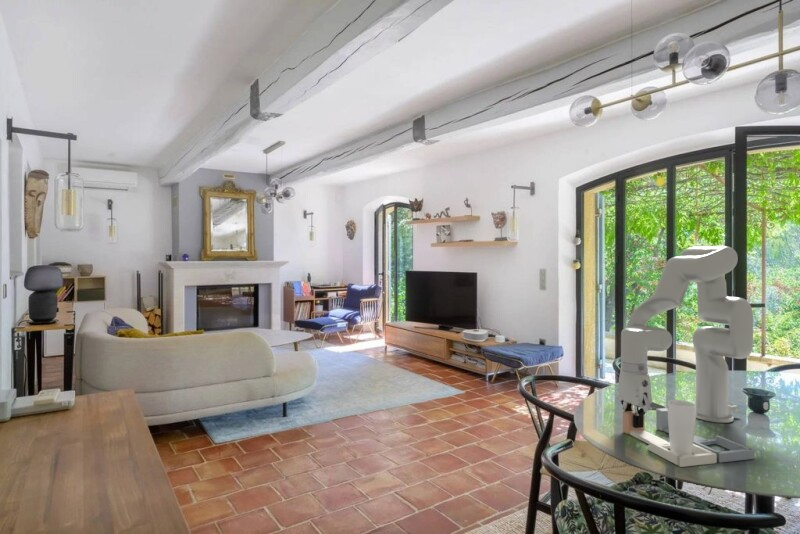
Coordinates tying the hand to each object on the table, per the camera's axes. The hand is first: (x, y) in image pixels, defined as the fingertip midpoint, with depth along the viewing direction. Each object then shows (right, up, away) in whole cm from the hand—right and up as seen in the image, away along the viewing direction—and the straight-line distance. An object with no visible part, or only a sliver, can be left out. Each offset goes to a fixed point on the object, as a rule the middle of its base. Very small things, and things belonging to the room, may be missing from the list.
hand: (633, 424), depth 151 cm
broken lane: (+15, -3, -9) cm, 17 cm away
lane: (+3, -3, -11) cm, 12 cm away
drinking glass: (+4, -3, -19) cm, 19 cm away
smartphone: (+18, -3, +32) cm, 37 cm away
